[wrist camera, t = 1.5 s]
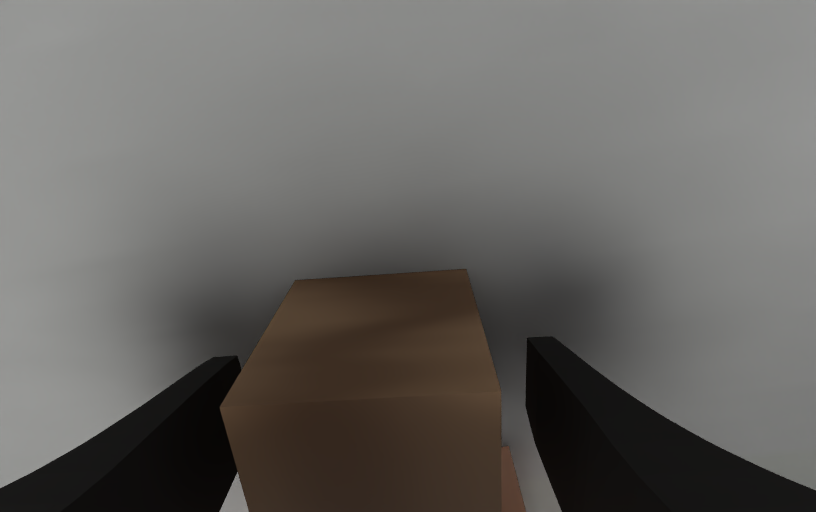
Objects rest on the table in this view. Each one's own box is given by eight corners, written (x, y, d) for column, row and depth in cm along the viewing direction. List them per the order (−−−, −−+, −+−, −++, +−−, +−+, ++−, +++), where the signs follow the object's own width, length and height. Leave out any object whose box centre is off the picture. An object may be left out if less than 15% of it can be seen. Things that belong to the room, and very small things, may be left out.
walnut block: (465, 268, 12) (501, 391, 7) (470, 407, 13) (501, 582, 9) (295, 279, 12) (219, 407, 7) (320, 415, 13) (271, 591, 9)
